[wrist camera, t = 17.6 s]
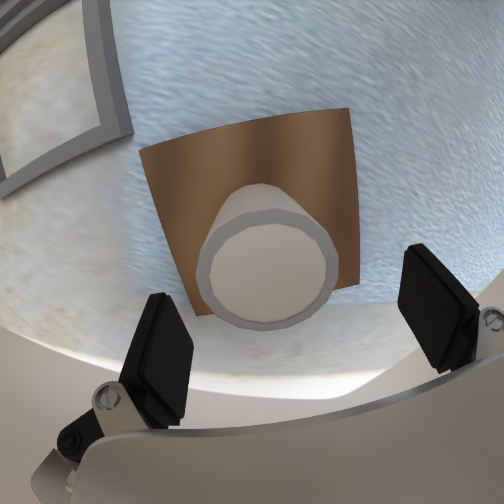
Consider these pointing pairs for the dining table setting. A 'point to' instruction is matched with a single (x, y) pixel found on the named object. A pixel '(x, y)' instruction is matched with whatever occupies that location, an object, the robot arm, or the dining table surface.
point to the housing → (102, 75)
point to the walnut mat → (257, 182)
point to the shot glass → (265, 261)
